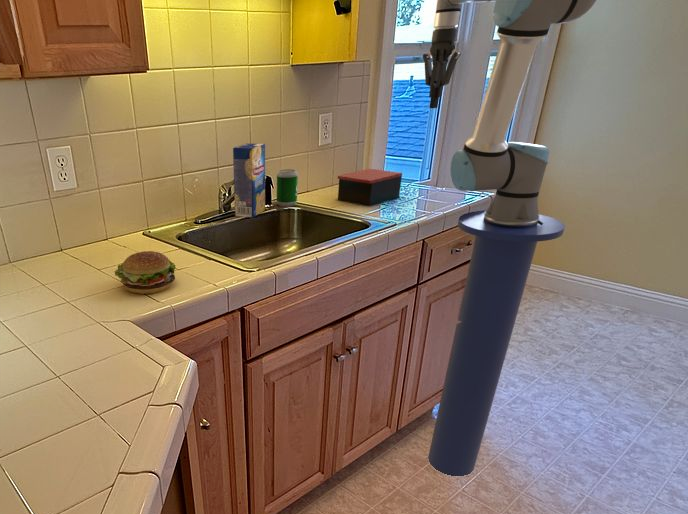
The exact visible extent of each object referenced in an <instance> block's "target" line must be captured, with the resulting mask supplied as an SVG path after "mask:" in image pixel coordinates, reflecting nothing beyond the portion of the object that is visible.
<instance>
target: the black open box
mask: <svg viewBox="0 0 688 514" xmlns="http://www.w3.org/2000/svg"><path fill="white" fill-rule="evenodd" d="M402 178H403V175H402V176H399V177H395V178H391V179H387V180H383V181H379V182H375V183H371V184H369V183H363V182H356V181H350V180H343V179H338V191H337V201H342V202H347V203H351V204H357V205H362V206H367V207H371V206H374V205H378V204H382V203H386V202H389V201H392V200H395V199H400V193H401V187H402V186H401V185H402Z"/></svg>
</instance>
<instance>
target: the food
mask: <svg viewBox="0 0 688 514" xmlns="http://www.w3.org/2000/svg"><path fill="white" fill-rule="evenodd" d="M175 270H177V268H176V265H175V262H172V261H171V260H170V259H169V258H168V256H167V255H165V254H163V253H161V252H159V251H154V250H146V251H144V250H143V251H139V252H135V253H132V254H130V255H129V256H127V257H126V258H125V259H124V261H123V262H122V263H120V264H118V265H117V269H116V270H114V276H116V277H118V278H119V279H120V282H121V283H122V285H123V287H124V289H125V290H126V291H128V292H130V293H132V294H141V295H148V294H155V293H160V292H163V291H165V290H167V289H170V288H171V287H172V286H173V283H174V281H175V280H176V276H175Z"/></svg>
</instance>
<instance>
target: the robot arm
mask: <svg viewBox="0 0 688 514" xmlns="http://www.w3.org/2000/svg"><path fill="white" fill-rule="evenodd" d="M489 2H490V3H492V2H493V3H494V5H493V11H492V12H493V16H492V19H493V23H494V25H495V26H496V27H497V31H496V35H497V36H498V38H499V39H500V42H499V46H498V48H497V53H496V56H495V60H494V62H493V66H492V69H491V73H490V76H489V80H488V83H487V85H486V89H485V93H484V97H483V99H482V103H481V106H480V110H479V114H478V115H477V116H478V117H477V120H476V123H475V127H474V130H473V133H472V136H470V137H469V138H467V139H466V140H465V142H464V145H463V149H459V150H457V151H455V153H454V154H453V155H452V158H451V161H450V177H451V182H452V185H453V186H454V188H455V189H456V190H458V191H461V192H476V191H492V190H493V191H495V190H496V191H495V195H494V197H493V198H492V201H491V203H490V204H489V206H488V207H487V209H486V210H487V211H486V213H485V216H484V221H485V222H486V223H488V224H491V225H494V226H499V227H506V228H529V227H534V226H536V225H537V224H538V223H539V224H540V225H542V224H543V223H542V222H541V221H539V214H540V213H539V212H540V211H539V201H538V198H539V195H540V190H541V186H542V183H543V181H544V180H543V179H544V175H545V173H546V168H547V165H548V164H549V158H550V157H549V155H550V149H549V148H548V147H547V146H545V145H541V144H536V143H535V144H534V143H527V142H517V141H509V142H507V140H506V137H507V135H508V132H509V128H510V126H511V123H512V119H513V117H514V114H515V111H516V108H517V105H518V101H519V99H520V96H521V93H522V90H523V87H524V84H525V82H526V79H527V75H528V72H529V69H530V66H531V63H532V62H533V61H532V60H533V58H534V55H535V52H536V49H537V46H538V44H539V42H540V41H542V40H543V39H544V38H546V37H547V36H548V34H549V31H550V28H551V26H552V25H559V24H561V25H562V24H568V23H570V22H573V21H575V20H577V19H580V18H581V17H582V16H583V15H585V14H586V13H588V12H589V10H591V9H592V7H593V6H594V5H595V4H596V2H597V0H437V1H436V8H435V16H434V20H433V21H434V22H433V31H432V36H431V46H430V48H429V51H428V52H426V53H423V54H422V59H423V62H424V78H425V79H424V80H425V82H424V83H425V86H429V94H428V97H429V98H430V101H429V109H437V108H438V107H439V100H440V98H442V95H443V94H442V93H443V88H444V86H446V85H449V84H450V81H451V78H452V75H453V72H454V69H455V67H456V64H457V61H458V59H459V58H460V56H461V55H462V53H461V51H458V50H457V49H456V45H455V43H456V40H457V34H458V28H457V27H458V26H459V22H460V16H461V9H462V4H471V3H472V4H473V3H474V4H475V3H489Z"/></svg>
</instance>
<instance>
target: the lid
mask: <svg viewBox="0 0 688 514" xmlns="http://www.w3.org/2000/svg"><path fill="white" fill-rule="evenodd" d="M399 176H402V177H403V172H398V171H391V170H383V169H375V168H366V169H362V170H361V169H360V170H358V171H357V170H356V171H354V172H349V173H343V174H340V175H337V179H338V180H339V179H343V180H350V181H356V182H363V183H369V184H371V183H375V182H379V181H383V180H387V179H391V178H395V177H399Z"/></svg>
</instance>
